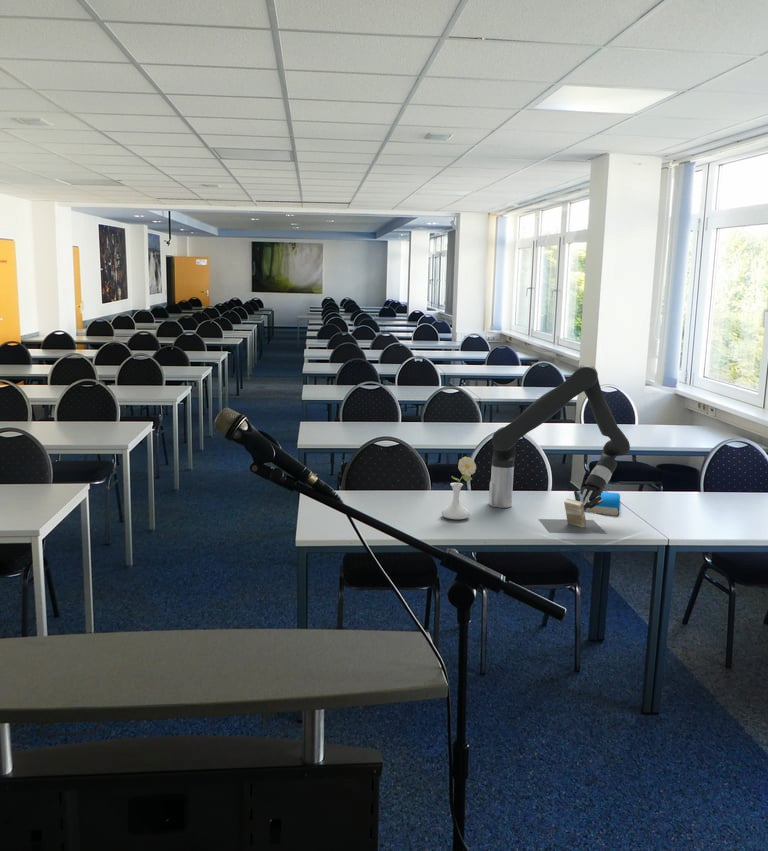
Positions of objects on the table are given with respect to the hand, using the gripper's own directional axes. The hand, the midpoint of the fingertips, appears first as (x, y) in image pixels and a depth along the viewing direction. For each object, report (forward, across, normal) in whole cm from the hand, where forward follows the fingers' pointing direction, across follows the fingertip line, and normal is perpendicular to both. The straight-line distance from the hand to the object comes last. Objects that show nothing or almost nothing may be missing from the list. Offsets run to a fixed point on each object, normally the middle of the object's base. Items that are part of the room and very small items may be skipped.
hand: (578, 514), depth 305 cm
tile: (+3, 0, +2) cm, 4 cm away
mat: (+6, 0, +1) cm, 6 cm away
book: (-20, -12, +28) cm, 36 cm away
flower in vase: (+24, -36, -17) cm, 47 cm away
